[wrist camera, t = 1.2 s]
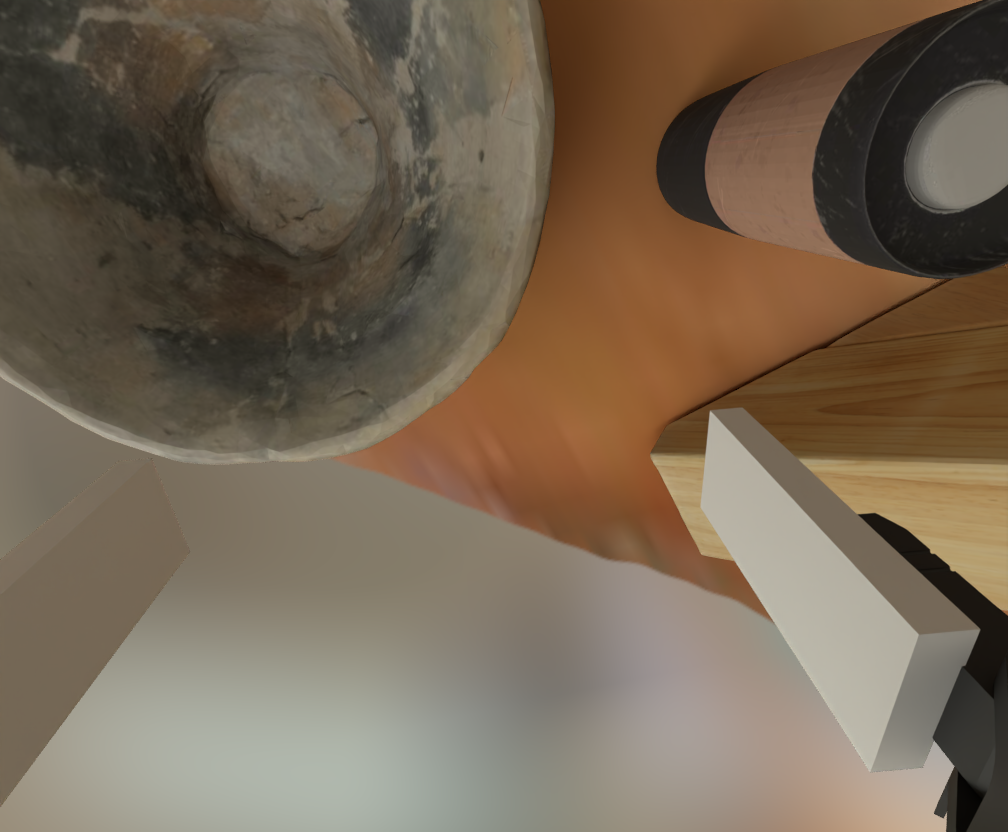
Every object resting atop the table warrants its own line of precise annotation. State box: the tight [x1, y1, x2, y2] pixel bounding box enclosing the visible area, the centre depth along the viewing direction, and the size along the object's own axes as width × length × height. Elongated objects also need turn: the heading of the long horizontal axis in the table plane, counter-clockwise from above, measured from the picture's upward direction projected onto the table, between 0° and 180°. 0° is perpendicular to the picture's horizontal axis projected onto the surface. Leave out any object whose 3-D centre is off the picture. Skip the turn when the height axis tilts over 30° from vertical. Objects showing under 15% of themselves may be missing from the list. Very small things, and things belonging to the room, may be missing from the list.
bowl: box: [0, 0, 555, 464], centre depth 25 cm, size 27×26×15 cm
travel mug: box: [657, 0, 1008, 279], centre depth 24 cm, size 8×8×20 cm
